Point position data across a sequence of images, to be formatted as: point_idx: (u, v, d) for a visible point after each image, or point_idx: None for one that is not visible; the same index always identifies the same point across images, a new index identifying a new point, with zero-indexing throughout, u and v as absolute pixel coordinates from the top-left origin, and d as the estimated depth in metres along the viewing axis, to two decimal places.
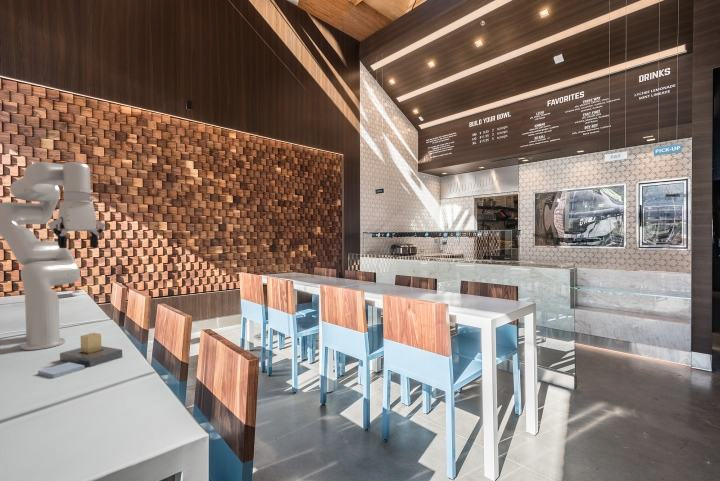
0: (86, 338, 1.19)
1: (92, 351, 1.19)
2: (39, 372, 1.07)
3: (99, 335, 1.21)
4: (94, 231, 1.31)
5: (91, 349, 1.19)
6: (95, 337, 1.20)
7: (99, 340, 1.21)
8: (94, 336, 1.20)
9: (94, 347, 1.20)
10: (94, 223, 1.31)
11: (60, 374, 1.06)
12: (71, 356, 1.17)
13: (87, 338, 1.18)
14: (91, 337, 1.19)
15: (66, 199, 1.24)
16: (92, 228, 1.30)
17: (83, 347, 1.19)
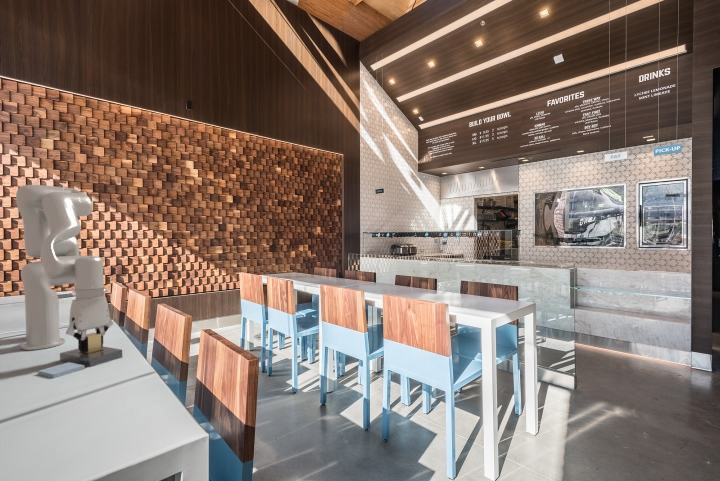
0: (86, 338, 1.19)
1: (91, 351, 1.19)
2: (39, 372, 1.07)
3: (99, 335, 1.21)
4: (101, 329, 1.23)
5: (91, 349, 1.19)
6: (95, 337, 1.20)
7: (99, 340, 1.21)
8: (94, 336, 1.20)
9: (94, 347, 1.20)
10: (107, 318, 1.24)
11: (60, 374, 1.06)
12: (71, 356, 1.17)
13: (87, 338, 1.18)
14: (91, 337, 1.19)
15: (78, 297, 1.17)
16: (105, 323, 1.23)
17: None
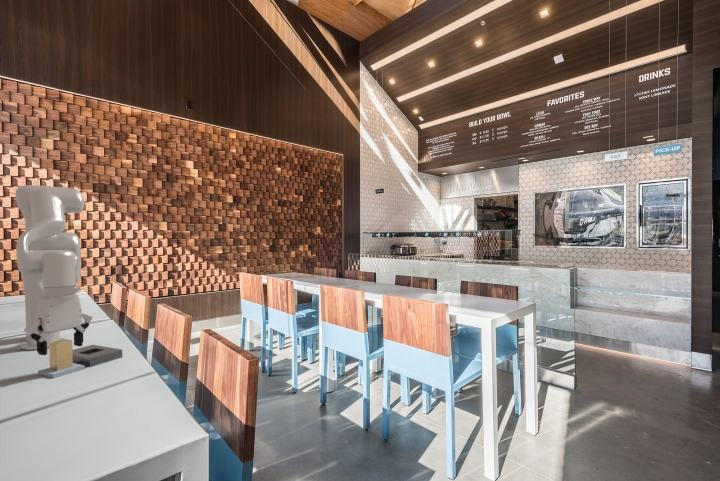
0: (55, 345, 1.07)
1: (61, 360, 1.08)
2: (39, 372, 1.07)
3: (70, 342, 1.10)
4: (79, 327, 1.13)
5: (60, 357, 1.08)
6: (65, 344, 1.09)
7: (70, 347, 1.10)
8: (64, 343, 1.09)
9: (64, 355, 1.09)
10: (79, 318, 1.12)
11: (60, 374, 1.06)
12: None
13: (56, 345, 1.07)
14: (60, 344, 1.08)
15: (46, 296, 1.06)
16: (77, 324, 1.12)
17: (51, 355, 1.08)
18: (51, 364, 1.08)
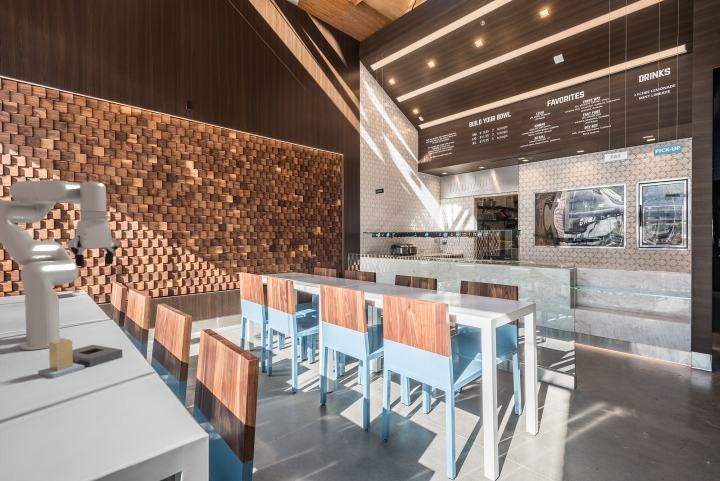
0: (55, 345, 1.07)
1: (61, 360, 1.08)
2: (39, 372, 1.07)
3: (70, 342, 1.10)
4: (109, 248, 1.34)
5: (60, 357, 1.08)
6: (65, 344, 1.09)
7: (70, 347, 1.10)
8: (64, 343, 1.09)
9: (64, 355, 1.09)
10: (110, 241, 1.34)
11: (60, 374, 1.06)
12: None
13: (56, 345, 1.07)
14: (60, 344, 1.08)
15: (83, 218, 1.27)
16: (108, 246, 1.33)
17: (51, 355, 1.08)
18: (51, 364, 1.08)
